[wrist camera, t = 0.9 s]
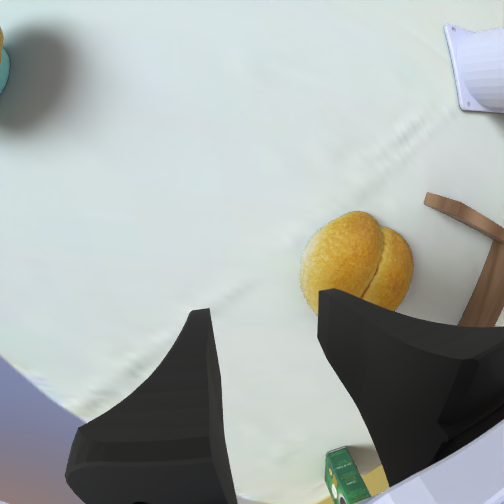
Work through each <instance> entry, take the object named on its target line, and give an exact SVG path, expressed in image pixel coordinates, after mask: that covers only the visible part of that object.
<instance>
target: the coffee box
mask: <svg viewBox="0 0 504 504" xmlns="http://www.w3.org/2000/svg"><path fill="white" fill-rule="evenodd" d="M325 482H326V484H327V487H328V489H329V492H330V494H331V496H332V498H333V501H334V503H335V504H354V503H357V502H359V501H362V500H365V499H367V498H370V497H371V495H370V493H369V491H368V489H367V487H366V485H365V483H364V481H363V479H362V477H361V475H360V473H359V472H358V470H357V467H356V465H355V463H354V461H353V460H352V457H351V456H350V453H349V451H348V449H347V447H342V448H339V449H336V450H333V451H330V452H329V453H327V454H326V469H325Z"/></svg>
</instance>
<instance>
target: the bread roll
mask: <svg viewBox="0 0 504 504" xmlns="http://www.w3.org/2000/svg"><path fill="white" fill-rule="evenodd" d="M412 274H413V258H412V253H411V250H410V248H409V246H408V244H407V242H406V241H405V240H404V239H403V238H402V237H401V236H400V235H399V234H398V233H396V232H395V231H393V230H391V229H388V228H385V227H381V226H379V225H378V223H377V222H376V220H375V219H374V218H373V217H372V216H371V215H369V214H367V213H365V212H360V211H354V212H349V213H346V214H344V215H342V216H340V217H338V218H336V219H334V220H332V221H331V222H329V223H328V224H326V225H325V226H324V227H322V228H321V229H320V230H318V231H317V232H316V233H315V234H314V235H313V236H312V237H311V238H310V240H309V241H308V244H307V245H306V247H305V249H304V252H303V255H302V259H301V264H300V283H301V289H302V292H303V295H304V297H305V299H306V301H307V303H308V305H309V306H310V308H311V309H312V310H313V312H314V313H315V314H316V315H318V294H319V291H321V290H326V289H332V288H336V289H339V290H342V291H344V292H347V293H349V294H352V295H354V296H356V297H359V298H361V299H364V300H366V301H368V302H371V303H373V304H376V305H378V306H381V307H383V308H386V309H388V310H391V311H395V310H396V309H397V307H398V306H399V305H400V304H401V302H402V300H403V299H404V297H405V295H406V293H407V291H408V288H409V285H410V282H411V279H412Z"/></svg>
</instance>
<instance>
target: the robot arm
mask: <svg viewBox="0 0 504 504" xmlns="http://www.w3.org/2000/svg"><path fill="white" fill-rule="evenodd" d="M444 30H445V34H446V38H447V42H448V46H449V50H450V55H451V59H452V64H453V69H454V74H455V80H456V85H457V92H458V98H459V105H460V107H461V109H462V110H471V111H484V112H495V113H504V27H501V28H495V29H490V30H485V31H480V32H474V31H471V30H468V29H465V28H461V27H458V26H455V25H451V24H445V25H444ZM467 104H468V105H467ZM317 338H318V340H319V342H320V345H321V347H322V349H323V351H324V354H325V356H326V358H327V360H328V361H329V363H330V364H331V366H332V368H333V369H334V371H335V372H336V374H337V376H338V377H339V379H340V380H341V382H342V383H343V385H344V386H345V388H346V389H347V391H348V393H349V394H350V396H351V397H352V399H353V400H354V402H355V404H356V406H357V407H358V409H359V411H360V413H361V416H362V418H363V420H364V422H365V424H366V426H367V428H368V431H369V433H370V435H371V438H372V440H373V442H374V445H375V447H376V450H377V452H378V455H379V458H380V460H381V463H382V466H383V468H384V471H385V474H386V477H387V480H388V483H389V487H390V488H388V489H387V490H385V491H384V492H383V493H380V494H377V495H375V496H373V497H370V498H367V499H365V500H362V501H359V502H357V503H354V504H504V327H464V326H454V325H447V324H441V323H435V322H430V321H425V320H421V319H417V318H413V317H410V316H406V315H403V314H400V313H397V312H394V311H391V310H388V309H386V308H383V307H381V306H378V305H376V304H373V303H371V302H368V301H366V300H364V299H361V298H359V297H356V296H354V295H352V294H349V293H347V292H344V291H342V290H339V289H336V288H332V289H326V290H321V291H319V294H318V333H317ZM65 478H66V482H67V484H68V485H69V486H70V488H71V489H72V490H73V492H74V493H75V494H76V495H77V496H78V497H79V498H80V499H81V500H82V501H83V502H84V503H86V504H237V499H236V494H235V489H234V484H233V479H232V474H231V469H230V464H229V459H228V454H227V448H226V443H225V436H224V425H223V407H222V388H221V375H220V369H219V363H218V357H217V351H216V345H215V339H214V333H213V327H212V321H211V315H210V309H209V308H207V309H200V310H193V311H191V312H190V314H189V316H188V318H187V321H186V323H185V325H184V327H183V329H182V331H181V333H180V334H179V336H178V338H177V340H176V341H175V343H174V345H173V346H172V348H171V349H170V351H169V352H168V354H167V355H166V357H165V358H164V359H163V361H162V362H161V363H160V365H159V366H158V367H157V368H156V370H155V371H154V372H153V373H152V374H151V375H150V376H149V378H148V379H147V380H145V381H144V382H143V383H142V384H141V385H140V386H139V387H138V388H137V389H136V390H135V391H134V392H133V393H131V394H130V395H129V396H128V397H126V398H125V399H124V400H123V401H121V402H120V403H119V404H117V405H116V406H114V407H113V408H112V409H110V410H109V411H107V412H106V413H104V414H102V415H101V416H99V417H97V418H95V419H94V420H92V421H90V422H88V423H87V424H85V425H83V426H81V427H79V428H78V430H77V433H76V435H75V438H74V441H73V443H72V447H71V451H70V455H69V459H68V464H67V468H66V472H65ZM0 504H9V503H6V502H3V501H0Z"/></svg>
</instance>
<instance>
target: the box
mask: <svg viewBox="0 0 504 504" xmlns="http://www.w3.org/2000/svg"><path fill="white" fill-rule="evenodd" d="M424 204H425V205H428V206H430V207H432V208H434V209H436V210H438V211H440V212H442V213H444V214H446V215H448V216H450V217H452V218H454V219H456V220H458V221H460V222H462V223H464V224H466V225H468V226H470V227H472V228H474V229H476V230H477V231H479V232H481V233H483V234H485V235H487V236H489V237H490V238H492V239H494V241H493V243H492V246H491V249H490V252H489V255H488V257H487V260H486V263H485V265H484V268H483V270H482V273H481V275H480V278H479V280H478V283H477V285H476V287H475V290H474V292H473V294H472V297H471V299H470V301H469V303H468V305H467V307H466V310H465V312H464V314H463V316H462V318H461V320H460V322H459V324H458V326H464V327H494V326H495V324H496V322H497V320H498V317H499V315H500V313H501V311H502V309H503V307H504V228H502V227H501V226H499V225H498V224H496V223H495V222H493V221H491V220H490V219H488V218H487V217H485V216H483V215H482V214H480V213H478V212H477V211H475V210H473V209H472V208H470V207H468V206H467V205H465V204H463V203H461V202H458V201H455V200H452V199H449V198H446V197H442V196H439V195H436V194H432V193H429V192H427V195H426V198H425V201H424Z"/></svg>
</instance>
